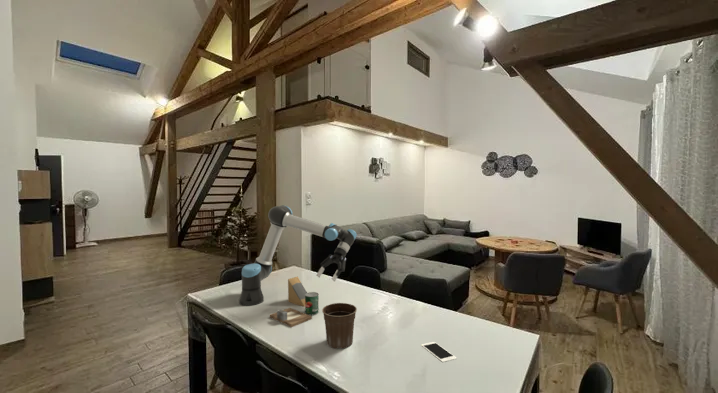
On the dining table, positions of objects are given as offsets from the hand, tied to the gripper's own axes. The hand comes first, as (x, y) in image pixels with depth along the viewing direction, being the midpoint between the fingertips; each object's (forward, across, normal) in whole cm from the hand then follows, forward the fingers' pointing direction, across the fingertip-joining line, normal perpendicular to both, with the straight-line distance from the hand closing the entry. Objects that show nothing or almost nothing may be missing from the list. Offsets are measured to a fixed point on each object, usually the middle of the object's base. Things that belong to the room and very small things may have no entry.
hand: (325, 278), depth 191 cm
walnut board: (+30, +3, +4) cm, 30 cm away
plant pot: (+32, -38, +6) cm, 50 cm away
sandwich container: (+16, +19, -10) cm, 27 cm away
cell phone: (+16, -77, -11) cm, 79 cm away
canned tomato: (+21, 0, -5) cm, 21 cm away
